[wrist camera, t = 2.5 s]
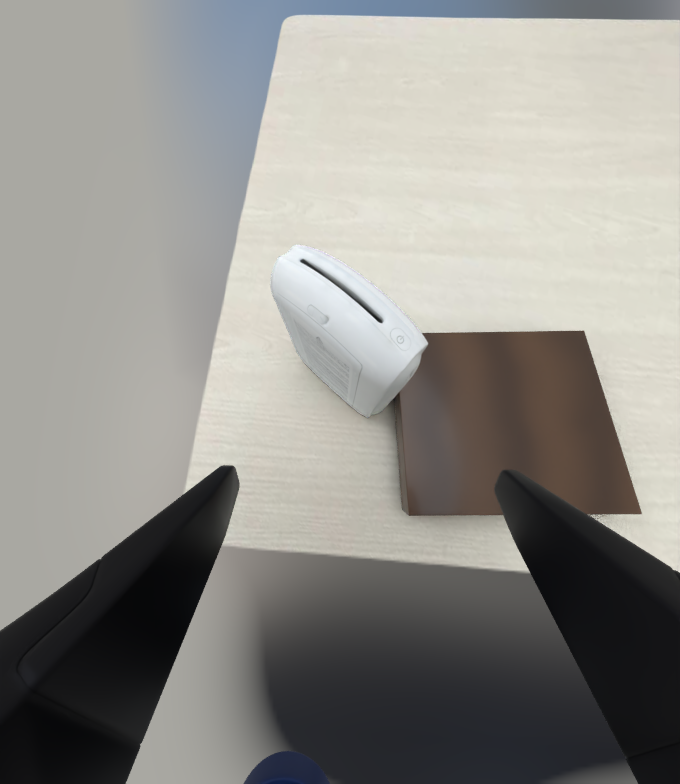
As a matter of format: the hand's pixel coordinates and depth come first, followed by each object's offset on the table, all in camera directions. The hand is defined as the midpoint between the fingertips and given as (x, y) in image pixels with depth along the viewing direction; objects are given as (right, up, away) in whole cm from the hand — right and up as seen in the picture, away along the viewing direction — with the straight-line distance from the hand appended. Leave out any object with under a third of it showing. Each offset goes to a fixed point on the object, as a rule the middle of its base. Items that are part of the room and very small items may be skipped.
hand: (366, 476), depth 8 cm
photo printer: (0, +5, +15) cm, 16 cm away
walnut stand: (+13, 0, +14) cm, 19 cm away
